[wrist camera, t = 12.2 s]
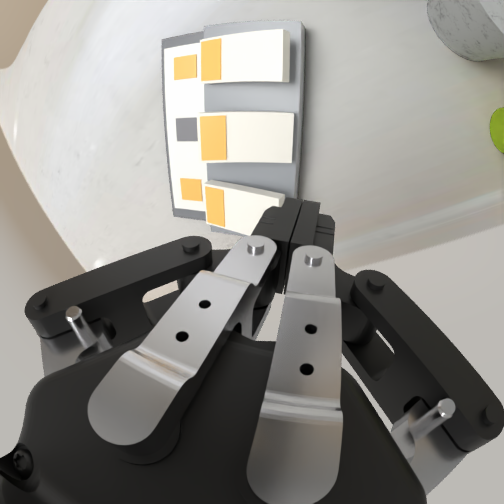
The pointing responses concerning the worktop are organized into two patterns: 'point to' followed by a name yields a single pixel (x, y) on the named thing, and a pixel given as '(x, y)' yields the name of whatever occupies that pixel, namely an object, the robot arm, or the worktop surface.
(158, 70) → the worktop surface
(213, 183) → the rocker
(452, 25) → the grey concrete cylinder
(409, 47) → the worktop surface
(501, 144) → the soap dispenser
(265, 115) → the rocker middle
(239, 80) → the plate
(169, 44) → the switch unit
